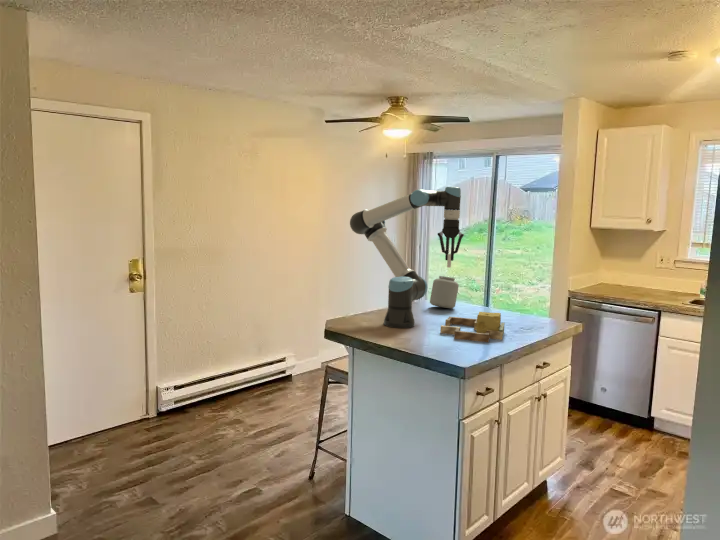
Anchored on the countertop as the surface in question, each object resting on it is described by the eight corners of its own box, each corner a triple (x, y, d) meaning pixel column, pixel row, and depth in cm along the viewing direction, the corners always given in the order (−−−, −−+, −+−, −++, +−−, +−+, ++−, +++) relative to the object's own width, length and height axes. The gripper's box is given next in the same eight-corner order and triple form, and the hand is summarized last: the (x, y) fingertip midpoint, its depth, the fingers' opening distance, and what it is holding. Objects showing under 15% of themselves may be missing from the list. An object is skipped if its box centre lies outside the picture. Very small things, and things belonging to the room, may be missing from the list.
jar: (443, 304, 324) (445, 263, 321) (464, 308, 314) (466, 265, 311) (424, 308, 310) (426, 265, 307) (445, 312, 300) (447, 268, 297)
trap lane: (437, 337, 243) (438, 327, 242) (447, 323, 272) (448, 314, 272) (501, 343, 235) (501, 333, 234) (504, 328, 264) (505, 319, 263)
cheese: (498, 338, 244) (500, 317, 243) (474, 335, 248) (476, 314, 246) (500, 333, 254) (501, 312, 253) (477, 331, 257) (478, 310, 256)
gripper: (436, 218, 258) (434, 267, 261) (464, 219, 254) (461, 268, 257) (439, 218, 265) (437, 265, 268) (466, 219, 261) (463, 267, 264)
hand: (449, 267), depth 262 cm, fingers closed
